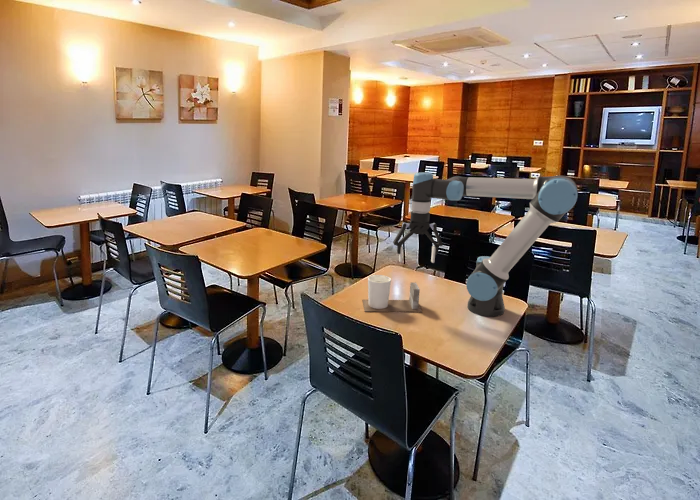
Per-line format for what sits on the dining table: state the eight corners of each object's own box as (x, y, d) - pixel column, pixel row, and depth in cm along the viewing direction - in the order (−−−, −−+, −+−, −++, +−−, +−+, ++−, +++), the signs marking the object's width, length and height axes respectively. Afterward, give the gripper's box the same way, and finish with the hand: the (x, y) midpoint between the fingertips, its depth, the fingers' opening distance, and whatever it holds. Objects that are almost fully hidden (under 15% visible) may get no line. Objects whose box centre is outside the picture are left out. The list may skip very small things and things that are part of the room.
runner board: (416, 300, 196) (418, 281, 193) (422, 312, 184) (423, 291, 181) (362, 300, 194) (363, 280, 192) (364, 311, 183) (365, 290, 180)
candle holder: (388, 311, 183) (389, 283, 180) (364, 308, 185) (366, 281, 182) (390, 302, 192) (392, 276, 189) (368, 299, 194) (369, 273, 191)
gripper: (448, 210, 182) (443, 259, 188) (388, 209, 181) (385, 258, 187) (453, 214, 175) (448, 264, 181) (391, 212, 174) (387, 263, 180)
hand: (416, 261), depth 184 cm, fingers open, 13 cm apart
